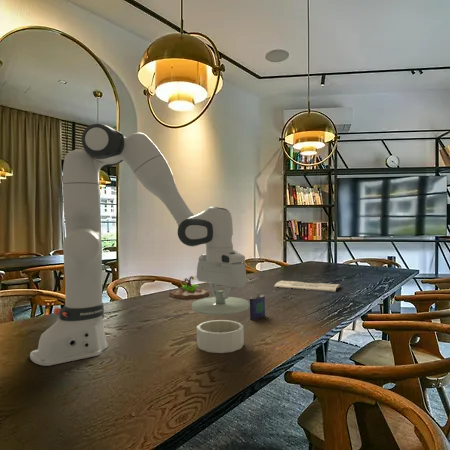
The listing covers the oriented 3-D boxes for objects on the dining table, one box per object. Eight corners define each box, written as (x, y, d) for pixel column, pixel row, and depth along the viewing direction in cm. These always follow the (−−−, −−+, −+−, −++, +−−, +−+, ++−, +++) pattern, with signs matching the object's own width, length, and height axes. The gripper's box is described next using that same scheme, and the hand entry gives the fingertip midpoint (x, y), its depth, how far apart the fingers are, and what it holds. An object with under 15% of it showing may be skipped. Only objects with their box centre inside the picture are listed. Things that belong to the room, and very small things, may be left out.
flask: (261, 315, 154) (261, 290, 154) (267, 316, 152) (267, 291, 152) (248, 319, 147) (248, 294, 147) (254, 320, 145) (253, 294, 145)
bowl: (219, 356, 106) (219, 336, 106) (188, 344, 117) (188, 326, 117) (252, 344, 117) (252, 326, 117) (220, 334, 128) (220, 317, 128)
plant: (186, 301, 183) (186, 280, 183) (164, 296, 198) (164, 276, 197) (214, 295, 197) (214, 275, 197) (192, 291, 211) (192, 272, 211)
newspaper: (340, 287, 220) (340, 283, 220) (335, 293, 202) (335, 288, 202) (282, 283, 236) (282, 279, 236) (273, 288, 218) (273, 284, 218)
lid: (220, 318, 104) (220, 300, 104) (180, 307, 117) (179, 292, 117) (261, 305, 117) (260, 290, 117) (220, 297, 131) (220, 283, 130)
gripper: (192, 254, 122) (192, 294, 122) (235, 258, 108) (235, 303, 108) (205, 253, 126) (206, 292, 127) (248, 256, 112) (249, 300, 112)
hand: (220, 297), depth 117 cm, fingers closed on lid, 3 cm apart
